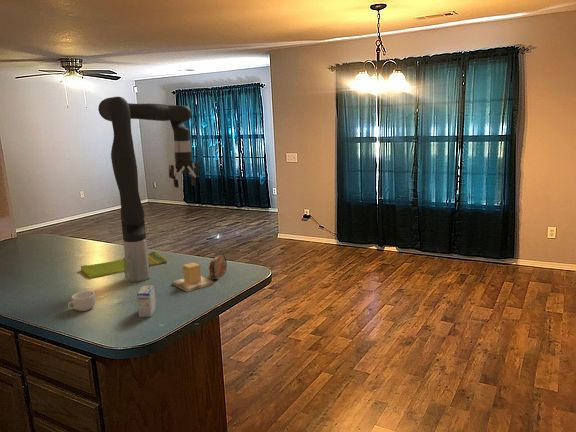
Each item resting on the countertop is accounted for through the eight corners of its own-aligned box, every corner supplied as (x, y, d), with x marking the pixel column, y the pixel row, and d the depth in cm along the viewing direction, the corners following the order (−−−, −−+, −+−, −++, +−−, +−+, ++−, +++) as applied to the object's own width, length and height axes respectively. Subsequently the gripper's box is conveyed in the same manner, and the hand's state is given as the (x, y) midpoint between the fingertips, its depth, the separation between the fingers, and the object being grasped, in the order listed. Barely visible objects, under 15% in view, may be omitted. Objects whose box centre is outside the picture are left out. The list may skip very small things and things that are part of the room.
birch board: (187, 291, 180) (186, 288, 180) (172, 284, 189) (172, 281, 188) (213, 284, 188) (212, 281, 187) (197, 277, 196) (197, 274, 196)
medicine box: (143, 308, 165) (141, 285, 163) (156, 307, 165) (154, 284, 163) (138, 317, 157) (136, 293, 155) (152, 316, 157) (149, 293, 156)
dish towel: (168, 263, 218) (168, 257, 218) (89, 280, 197) (88, 273, 196) (156, 256, 230) (155, 250, 230) (80, 272, 209) (79, 265, 208)
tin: (215, 282, 190) (214, 262, 188) (208, 282, 191) (207, 262, 189) (227, 270, 204) (226, 252, 203) (220, 270, 205) (219, 252, 203)
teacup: (88, 303, 171) (86, 289, 170) (101, 307, 167) (99, 293, 166) (63, 312, 163) (61, 298, 162) (75, 317, 159) (73, 302, 157)
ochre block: (190, 284, 185) (189, 267, 183) (184, 281, 188) (182, 265, 187) (201, 281, 188) (200, 265, 186) (194, 278, 191) (193, 262, 190)
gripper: (172, 152, 200) (175, 189, 204) (200, 150, 210) (203, 185, 213) (164, 151, 206) (167, 187, 209) (192, 149, 215) (194, 184, 218)
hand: (185, 186), depth 211 cm, fingers open, 8 cm apart
